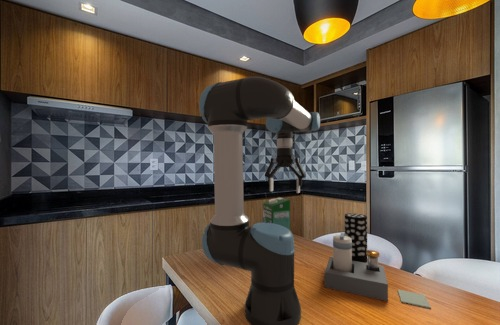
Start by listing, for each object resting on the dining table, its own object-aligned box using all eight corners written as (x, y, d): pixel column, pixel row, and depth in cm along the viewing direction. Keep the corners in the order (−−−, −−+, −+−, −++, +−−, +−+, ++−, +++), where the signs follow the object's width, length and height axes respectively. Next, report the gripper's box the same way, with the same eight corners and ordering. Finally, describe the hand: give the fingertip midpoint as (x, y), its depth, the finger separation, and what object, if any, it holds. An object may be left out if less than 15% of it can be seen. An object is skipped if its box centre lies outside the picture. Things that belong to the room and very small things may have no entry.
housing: (387, 301, 69) (387, 284, 69) (324, 287, 76) (324, 272, 76) (383, 280, 81) (383, 265, 81) (329, 269, 89) (329, 256, 89)
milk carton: (262, 251, 108) (262, 197, 108) (279, 248, 112) (279, 196, 112) (272, 258, 100) (272, 200, 100) (290, 255, 103) (290, 199, 104)
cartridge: (351, 287, 76) (351, 238, 77) (332, 283, 79) (332, 236, 79) (352, 279, 82) (352, 233, 82) (334, 275, 84) (333, 231, 85)
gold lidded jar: (379, 275, 76) (379, 255, 77) (366, 272, 78) (366, 253, 78) (379, 270, 80) (378, 251, 80) (366, 267, 82) (366, 249, 82)
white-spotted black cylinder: (348, 259, 99) (348, 212, 99) (369, 264, 94) (369, 215, 94) (341, 265, 93) (341, 215, 93) (364, 272, 87) (364, 218, 88)
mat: (430, 308, 65) (430, 307, 65) (401, 302, 68) (401, 301, 68) (424, 296, 71) (424, 294, 71) (397, 290, 74) (397, 289, 74)
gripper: (312, 147, 109) (312, 192, 109) (264, 149, 121) (264, 189, 121) (308, 146, 102) (308, 194, 102) (258, 148, 115) (257, 191, 114)
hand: (284, 192), depth 111 cm, fingers open, 13 cm apart
